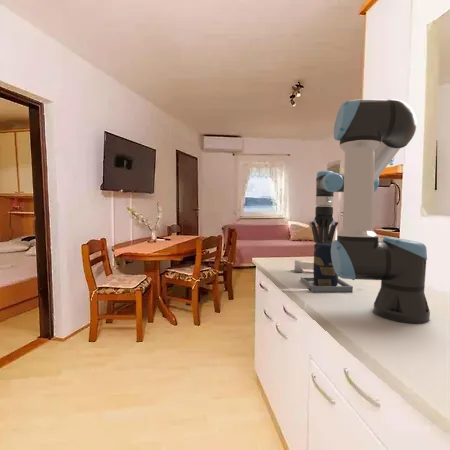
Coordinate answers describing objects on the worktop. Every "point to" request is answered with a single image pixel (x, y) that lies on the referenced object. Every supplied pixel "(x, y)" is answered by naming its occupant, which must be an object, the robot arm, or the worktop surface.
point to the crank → (303, 265)
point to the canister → (324, 265)
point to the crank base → (298, 272)
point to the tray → (328, 287)
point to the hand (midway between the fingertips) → (322, 258)
